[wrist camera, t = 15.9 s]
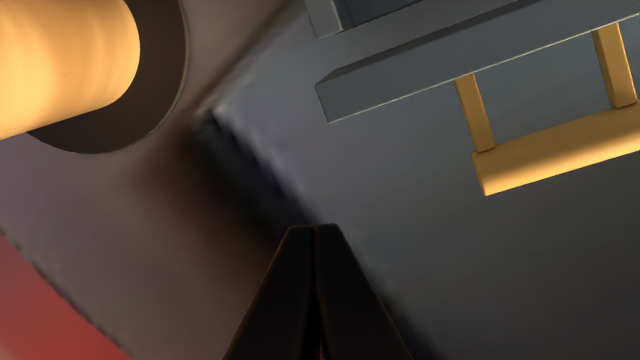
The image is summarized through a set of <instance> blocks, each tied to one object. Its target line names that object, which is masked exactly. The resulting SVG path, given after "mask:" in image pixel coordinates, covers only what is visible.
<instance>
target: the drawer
mask: <svg viewBox="0 0 640 360" xmlns="http://www.w3.org/2000/svg"><path fill="white" fill-rule="evenodd" d="M420 1H422V0H302V2H303V5H304V8H305V10H306V13H307V16H308V18H309V21H310V24H311V26H312V29H313V32H314V34H315V37H316V39H317V40H321V39H324V38H327V37H330V36H333V35H336V34H338V33H341V32H344V31H346V30H349V29H351V28H354V27H356V26H359V25H361V24H364V23H366V22H369V21H372V20H374V19H377V18H379V17H382V16H384V15H387V14H389V13H392V12H394V11H397V10H400V9H402V8H405V7H407V6H410V5H412V4H415V3H417V2H420ZM639 14H640V0H518V1H516V2H513V3H510V4H508V5H505V6H502V7H500V8H497V9H494V10H492V11H489V12H486V13H484V14H481V15H478V16H476V17H473V18H471V19H468V20H465V21H463V22H460V23H457V24H455V25H452V26H449V27H447V28H444V29H441V30H439V31H436V32H433V33H431V34H428V35H425V36H423V37H420V38H417V39H415V40H412V41H410V42H407V43H404V44H402V45H399V46H396V47H394V48H391V49H388V50H386V51H383V52H380V53H378V54H375V55H372V56H370V57H367V58H364V59H362V60H359V61H356V62H354V63H351V64H349V65H346V66H343V67H341V68H338V69H335V70H334V71H332V72H331V73H330V74H328V75H327V76H326V77H324V78H323V79H322V80H320V81H319V82H318V83H316V84H315V89H316V92H317V94H318V97H319V100H320V102H321V105H322V108H323V110H324V113H325V116H326V118H327V121H328V123H333V122H336V121H339V120H341V119H344V118H347V117H350V116H353V115H356V114H358V113H361V112H364V111H367V110H370V109H372V108H375V107H378V106H381V105H384V104H387V103H389V102H392V101H395V100H398V99H401V98H404V97H406V96H409V95H412V94H415V93H418V92H421V91H423V90H426V89H429V88H432V87H435V86H438V85H440V84H443V83H446V82H449V81H452V80H453V81H454V85H455V88H456V91H457V94H458V97H459V100H460V103H461V106H462V109H463V112H464V115H465V118H466V121H467V124H468V128H469V131H470V134H471V137H472V140H473V143H474V146H475V149H476V151H475V152H472V153H471V158H472V161H473V165H474V168H475V171H476V174H477V177H478V180H479V183H480V186H481V189H482V192H483V194H484V195H490V194H493V193H497V192H500V191H503V190H507V189H510V188H513V187H517V186H520V185H523V184H527V183H530V182H533V181H537V180H540V179H544V178H547V177H550V176H554V175H557V174H560V173H564V172H567V171H570V170H574V169H577V168H580V167H584V166H587V165H590V164H594V163H597V162H600V161H604V160H607V159H611V158H614V157H617V156H621V155H624V154H627V153H631V152H634V151H637V150H640V100H637V96H636V92H635V88H634V84H633V80H632V76H631V73H630V69H629V65H628V61H627V57H626V53H625V49H624V45H623V41H622V38H621V34H620V30H619V26H618V22H619V21H622V20H624V19H627V18H630V17H633V16H636V15H639ZM590 31H591V34H592V38H593V42H594V45H595V49H596V53H597V56H598V60H599V64H600V68H601V71H602V75H603V79H604V83H605V86H606V90H607V94H608V98H609V101H610V105H611V106H613V108H610V109H606V110H603V111H600V112H597V113H594V114H591V115H588V116H584V117H581V118H578V119H575V120H572V121H569V122H566V123H563V124H559V125H556V126H553V127H550V128H547V129H544V130H541V131H537V132H534V133H531V134H528V135H525V136H522V137H519V138H516V139H512V140H509V141H506V142H503V143H500V144H497V145H496V143H495V139H494V136H493V133H492V130H491V127H490V124H489V120H488V117H487V114H486V111H485V108H484V105H483V102H482V98H481V95H480V92H479V89H478V86H477V83H476V79H475V76H474V72H477V71H480V70H483V69H486V68H489V67H491V66H494V65H497V64H500V63H503V62H506V61H508V60H511V59H514V58H517V57H520V56H523V55H525V54H528V53H531V52H534V51H537V50H540V49H542V48H545V47H548V46H551V45H554V44H557V43H559V42H562V41H565V40H568V39H571V38H574V37H576V36H579V35H582V34H585V33H588V32H590Z"/></svg>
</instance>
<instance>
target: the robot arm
mask: <svg viewBox="0 0 640 360" xmlns="http://www.w3.org/2000/svg"><path fill="white" fill-rule="evenodd" d="M320 338H321V347H322V354H323V360H414V359H413V357H412V356H411V354H410V352H409V350H408V348H407V347H406V345H405V343H404V341H403V340H402V338H401V336H400V334H399V333H398V331H397V329H396V327H395V325H394V324H393V322H392V320H391V318H390V317H389V315H388V313H387V311H386V309H385V308H384V306H383V304H382V302H381V301H380V299H379V297H378V295H377V294H376V292H375V290H374V288H373V286H372V285H371V283H370V281H369V279H368V278H367V276H366V274H365V272H364V270H363V269H362V267H361V265H360V263H359V262H358V260H357V258H356V256H355V255H354V253H353V251H352V249H351V247H350V246H349V244H348V242H347V240H346V239H345V237H344V235H343V233H342V231H341V230H340V228H339V226H338V225H337V224H335V223H330V224H317V225H315V226H314V227H313V228H312V226H310V225H299V226H290V227H289V228H288V229H287V231H286V233H285V235H284V237H283V239H282V241H281V243H280V245H279V247H278V249H277V251H276V253H275V255H274V257H273V259H272V261H271V263H270V265H269V267H268V269H267V271H266V273H265V275H264V277H263V279H262V281H261V283H260V285H259V287H258V289H257V291H256V293H255V295H254V297H253V299H252V301H251V303H250V305H249V307H248V309H247V311H246V313H245V315H244V317H243V319H242V321H241V323H240V325H239V327H238V329H237V331H236V333H235V335H234V337H233V339H232V341H231V343H230V345H229V347H228V349H227V351H226V353H225V355H224V357H223V359H222V360H320Z"/></svg>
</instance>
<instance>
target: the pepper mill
mask: <svg viewBox="0 0 640 360" xmlns="http://www.w3.org/2000/svg"><path fill="white" fill-rule="evenodd" d="M139 56H140V42H139V35H138V31H137V27H136V23H135V21H134V18H133V16H132V14H131V12H130V10H129V8H128V6H127V5H126V3H125V2H124V1H123V0H0V140H2V139H5V138H8V137H11V136H15V135H18V134H21V133H24V132H27V131H30V130H33V129H36V128H40V127H43V126H46V125H49V124H52V123H55V122H58V121H62V120H65V119H68V118H71V117H74V116H77V115H80V114H83V113H87V112H90V111H93V110H96V109H99V108H102V107H105V106H107V105H109V104H111V103H113V102H114V101H116V100H117V99H118V98H120V97H121V96H122V95H123V94H124V93H125V91H126V90H127V89H128V87H129V86H130V84H131V82H132V81H133V79H134V76H135V74H136V71H137V67H138V63H139Z"/></svg>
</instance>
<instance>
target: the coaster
mask: <svg viewBox="0 0 640 360" xmlns="http://www.w3.org/2000/svg"><path fill="white" fill-rule="evenodd" d="M123 1H124V2H125V3H126V5H127V6H128V8H129V10H130V12H131V14H132V16H133V18H134V21H135V23H136V27H137V31H138V35H139V42H140V56H139V63H138V67H137V71H136V74H135V76H134V79H133V81H132V82H131V84H130V86H129V87H128V89H127V90H126V91H125V93H124V94H123V95H122V96H121V97H120V98H118V99H117V100H116V101H114V102H113V103H111V104H109V105H107V106H105V107H102V108H99V109H96V110H93V111H90V112H87V113H83V114H80V115H77V116H74V117H71V118H68V119H65V120H62V121H58V122H55V123H52V124H49V125H46V126H43V127H40V128H36V129H33V130H30V131H27V133H28V134H30V135H32V136H33V137H35V138H37V139H38V140H40V141H42V142H44V143H46V144H49V145H51V146H53V147H56V148H59V149H63V150H66V151H70V152H76V153H82V154H99V153H108V152H112V151H116V150H120V149H123V148H125V147H128V146H130V145H132V144H135V143H137V142H139V141H140V140H142V139H143V138H145V137H147V136H148V135H150V134H151V133H152V132H153V131H154V130H156V129H157V128H158V127H159V126H160V125H161V124H162V123H163V121H164V120H165V119H166V118H167V117H168V116H169V114H170V113H171V111H172V110H173V108H174V106H175V105H176V103H177V101H178V99H179V97H180V95H181V92H182V90H183V87H184V84H185V80H186V77H187V72H188V66H189V57H190V39H189V28H188V23H187V18H186V13H185V10H184V7H183V4H182V0H123Z"/></svg>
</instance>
